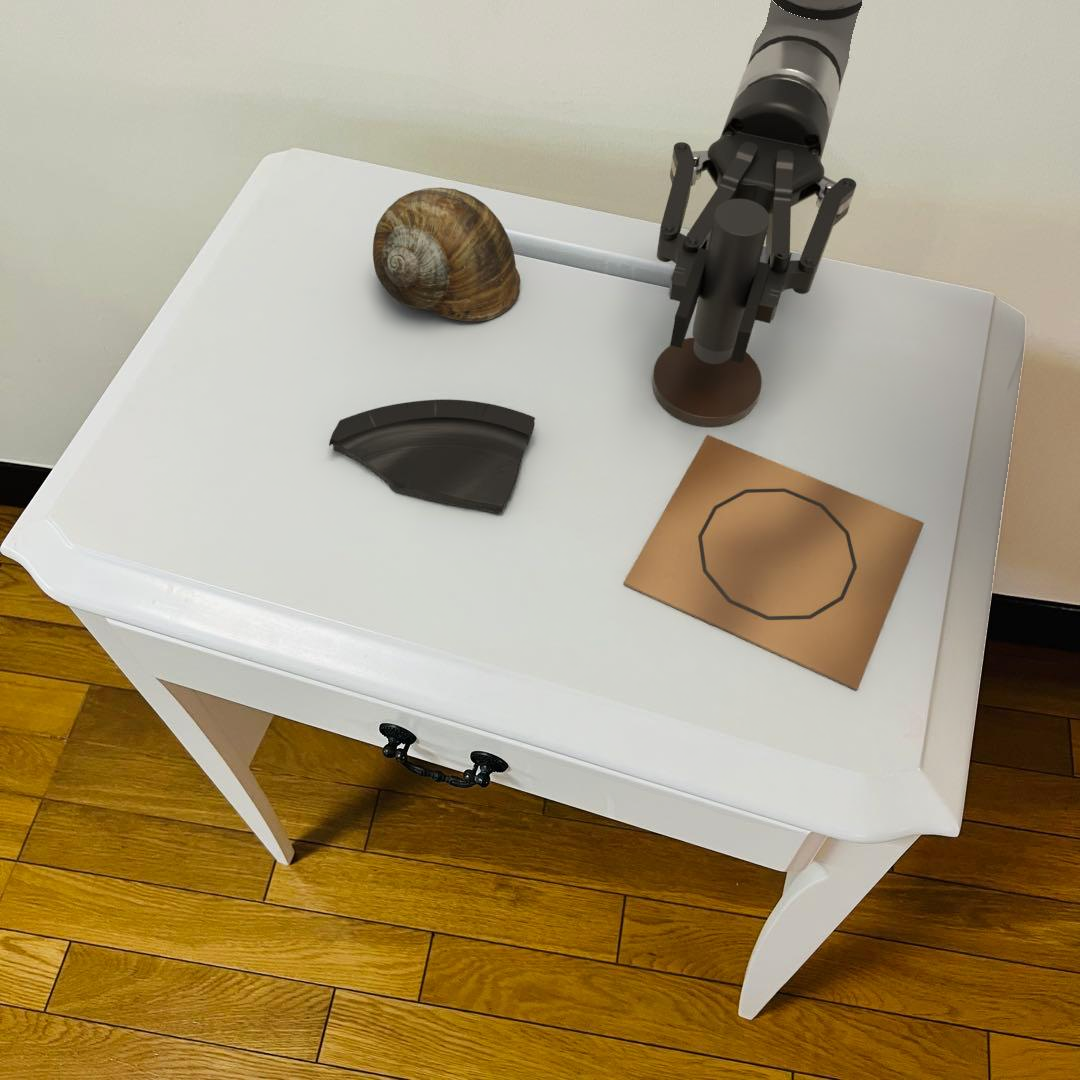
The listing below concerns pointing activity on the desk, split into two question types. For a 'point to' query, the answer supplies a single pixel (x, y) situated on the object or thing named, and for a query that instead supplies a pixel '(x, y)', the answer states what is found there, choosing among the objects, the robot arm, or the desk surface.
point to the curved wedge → (441, 449)
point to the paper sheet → (778, 559)
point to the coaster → (705, 386)
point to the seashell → (446, 255)
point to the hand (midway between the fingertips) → (709, 339)
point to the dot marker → (728, 277)
